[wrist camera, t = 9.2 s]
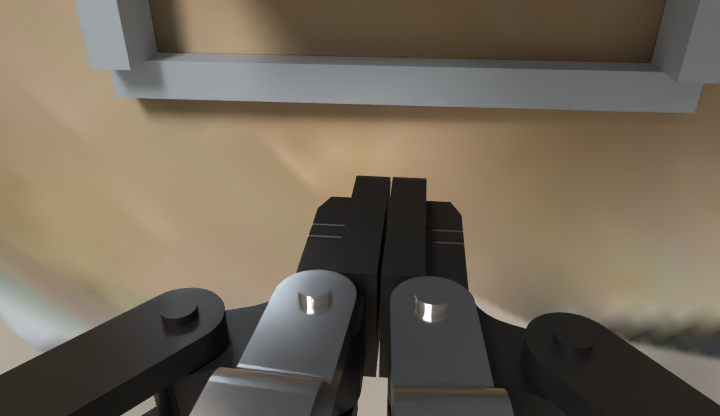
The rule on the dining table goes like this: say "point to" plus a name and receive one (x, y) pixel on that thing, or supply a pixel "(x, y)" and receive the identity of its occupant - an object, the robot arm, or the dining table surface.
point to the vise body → (409, 70)
